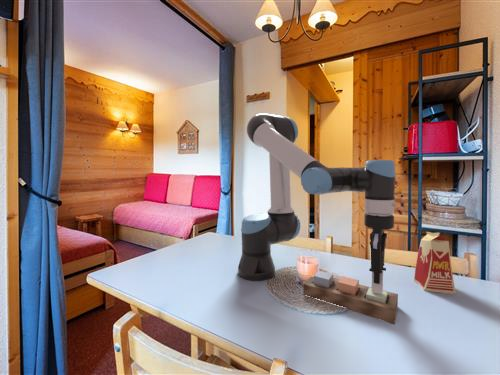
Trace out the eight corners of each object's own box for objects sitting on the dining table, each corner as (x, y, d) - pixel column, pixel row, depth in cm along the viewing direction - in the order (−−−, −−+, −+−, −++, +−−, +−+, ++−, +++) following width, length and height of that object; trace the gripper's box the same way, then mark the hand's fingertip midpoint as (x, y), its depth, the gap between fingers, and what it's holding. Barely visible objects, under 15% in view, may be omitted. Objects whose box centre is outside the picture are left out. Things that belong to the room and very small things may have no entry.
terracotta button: (337, 295, 75) (338, 282, 75) (342, 289, 79) (342, 276, 79) (354, 300, 72) (355, 286, 72) (358, 293, 76) (358, 280, 76)
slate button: (313, 288, 80) (313, 275, 79) (318, 282, 84) (318, 270, 83) (328, 293, 77) (328, 279, 76) (333, 286, 81) (333, 274, 80)
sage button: (365, 308, 70) (365, 294, 70) (368, 301, 74) (369, 287, 74) (384, 314, 68) (385, 299, 67) (387, 306, 72) (387, 291, 71)
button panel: (303, 295, 79) (303, 283, 79) (314, 283, 87) (314, 273, 87) (394, 324, 64) (394, 310, 64) (397, 306, 72) (397, 294, 72)
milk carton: (455, 293, 79) (458, 234, 78) (424, 291, 81) (427, 233, 80) (440, 281, 88) (442, 228, 87) (412, 279, 90) (414, 227, 89)
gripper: (391, 218, 61) (389, 306, 63) (396, 211, 72) (394, 287, 74) (360, 215, 66) (358, 298, 68) (368, 209, 76) (367, 280, 78)
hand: (377, 292), depth 71 cm, fingers closed
